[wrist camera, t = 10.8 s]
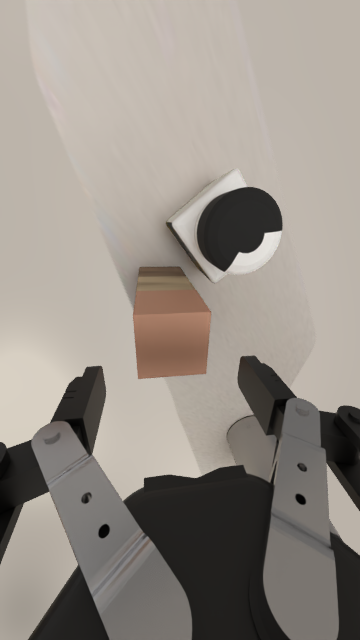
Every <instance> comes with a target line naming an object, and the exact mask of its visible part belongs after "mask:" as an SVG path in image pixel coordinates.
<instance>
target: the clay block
mask: <svg viewBox="0 0 360 640" xmlns="http://www.w3.org/2000/svg"><path fill="white" fill-rule="evenodd" d="M210 320H211V311H210V310H209V308H208V307H207V305H206V304H205V302H204V301H203V299H202V298H201V297H200V295H199V294H198V292H197V291H196V290H160V291H136V298H135V305H134V312H133V321H134V333H135V344H136V357H137V370H138V379H143V378H156V377H169V376H182V375H195V374H206V368H207V356H208V344H209V332H210Z"/></svg>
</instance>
